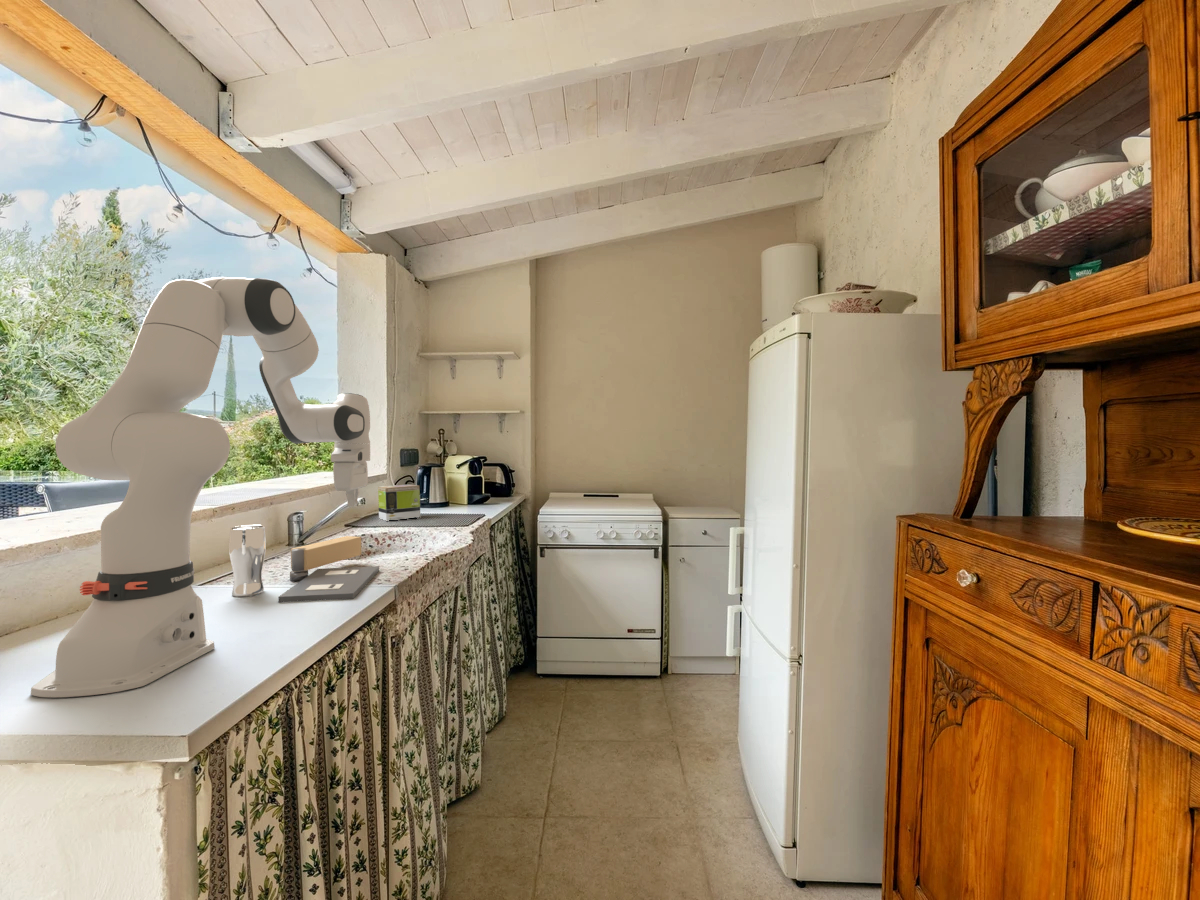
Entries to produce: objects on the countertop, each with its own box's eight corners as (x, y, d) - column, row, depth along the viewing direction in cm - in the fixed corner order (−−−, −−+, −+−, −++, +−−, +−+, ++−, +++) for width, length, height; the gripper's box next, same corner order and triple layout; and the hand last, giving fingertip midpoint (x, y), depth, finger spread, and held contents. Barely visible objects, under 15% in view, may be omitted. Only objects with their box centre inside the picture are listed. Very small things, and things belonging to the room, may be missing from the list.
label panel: (353, 598, 120) (353, 591, 120) (278, 602, 117) (278, 595, 117) (378, 570, 146) (378, 565, 146) (317, 573, 143) (317, 567, 143)
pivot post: (305, 581, 135) (305, 573, 135) (287, 581, 134) (287, 573, 134) (310, 577, 139) (310, 569, 139) (293, 577, 138) (293, 570, 138)
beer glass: (248, 598, 120) (247, 529, 120) (221, 596, 122) (220, 528, 122) (273, 589, 127) (272, 525, 127) (247, 588, 129) (247, 524, 128)
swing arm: (361, 554, 154) (361, 536, 154) (301, 571, 134) (301, 551, 134) (346, 553, 155) (346, 536, 155) (285, 570, 136) (285, 550, 136)
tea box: (412, 516, 250) (412, 483, 249) (420, 518, 242) (420, 485, 242) (378, 519, 240) (377, 485, 240) (385, 522, 232) (385, 487, 232)
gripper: (350, 454, 158) (350, 502, 158) (328, 455, 138) (328, 510, 138) (373, 454, 159) (373, 502, 159) (355, 455, 139) (355, 509, 139)
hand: (352, 505), depth 149 cm, fingers closed
